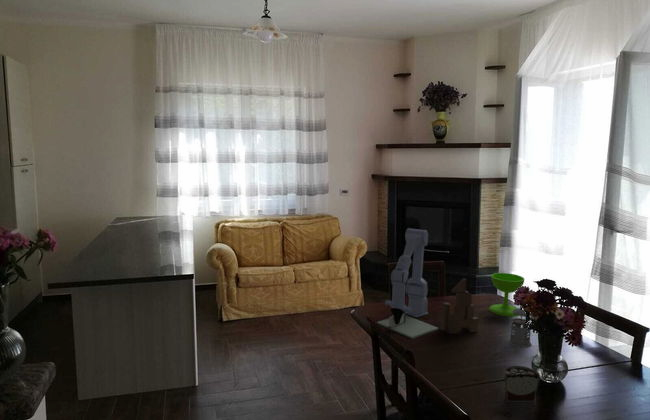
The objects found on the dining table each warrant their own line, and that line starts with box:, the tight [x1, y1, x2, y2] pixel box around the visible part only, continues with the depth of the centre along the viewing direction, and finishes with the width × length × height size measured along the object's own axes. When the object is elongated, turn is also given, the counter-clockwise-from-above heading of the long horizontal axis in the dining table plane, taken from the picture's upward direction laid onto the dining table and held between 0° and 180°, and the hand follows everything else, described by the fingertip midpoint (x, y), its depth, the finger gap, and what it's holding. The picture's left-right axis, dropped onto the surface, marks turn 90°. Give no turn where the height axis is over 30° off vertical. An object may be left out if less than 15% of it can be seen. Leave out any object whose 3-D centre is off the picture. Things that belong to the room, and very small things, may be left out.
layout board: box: [376, 314, 439, 340], centre depth 224 cm, size 18×22×1 cm
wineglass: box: [488, 272, 525, 317], centre depth 247 cm, size 16×16×18 cm
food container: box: [502, 365, 542, 403], centre depth 163 cm, size 12×6×10 cm, turn 92°
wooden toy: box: [440, 277, 479, 335], centre depth 219 cm, size 16×7×25 cm, turn 104°
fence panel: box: [388, 313, 404, 327], centre depth 223 cm, size 9×1×4 cm, turn 131°
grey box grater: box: [507, 307, 533, 349], centre depth 207 cm, size 10×12×25 cm
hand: (397, 323), depth 221 cm, fingers closed
